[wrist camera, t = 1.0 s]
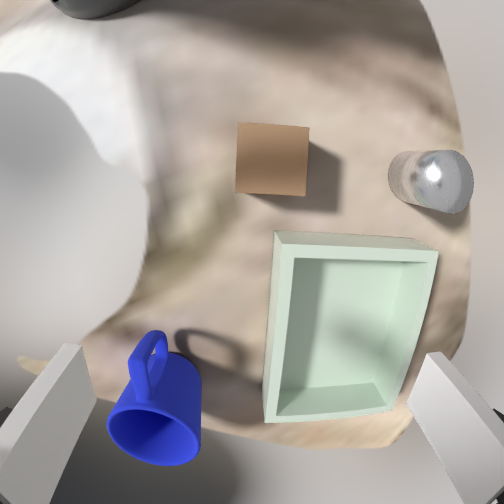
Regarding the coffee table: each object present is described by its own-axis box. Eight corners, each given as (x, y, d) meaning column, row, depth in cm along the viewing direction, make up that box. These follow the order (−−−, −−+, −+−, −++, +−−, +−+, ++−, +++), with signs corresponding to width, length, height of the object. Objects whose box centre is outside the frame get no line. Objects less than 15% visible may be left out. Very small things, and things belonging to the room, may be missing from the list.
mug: (203, 308, 29) (189, 371, 19) (211, 401, 32) (204, 469, 22) (123, 306, 29) (81, 362, 19) (142, 397, 32) (120, 460, 22)
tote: (274, 230, 27) (281, 243, 22) (411, 238, 28) (438, 251, 23) (261, 391, 32) (264, 422, 27) (376, 384, 33) (391, 410, 28)
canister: (389, 147, 26) (430, 144, 19) (430, 156, 26) (475, 156, 19) (385, 199, 27) (425, 210, 20) (427, 205, 27) (470, 216, 20)
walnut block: (238, 131, 25) (238, 122, 20) (296, 135, 25) (309, 127, 20) (235, 188, 26) (235, 192, 21) (293, 191, 26) (305, 196, 22)
